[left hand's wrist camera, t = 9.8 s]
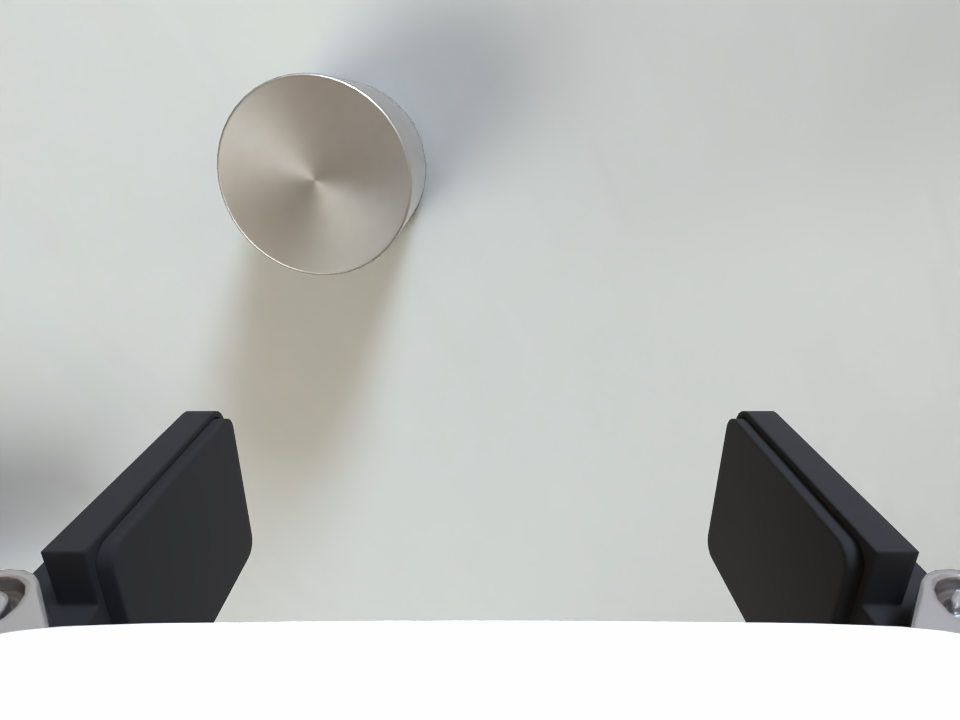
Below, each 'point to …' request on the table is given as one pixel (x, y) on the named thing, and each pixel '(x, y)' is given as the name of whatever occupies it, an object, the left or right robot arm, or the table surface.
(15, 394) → the table surface
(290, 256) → the canister
